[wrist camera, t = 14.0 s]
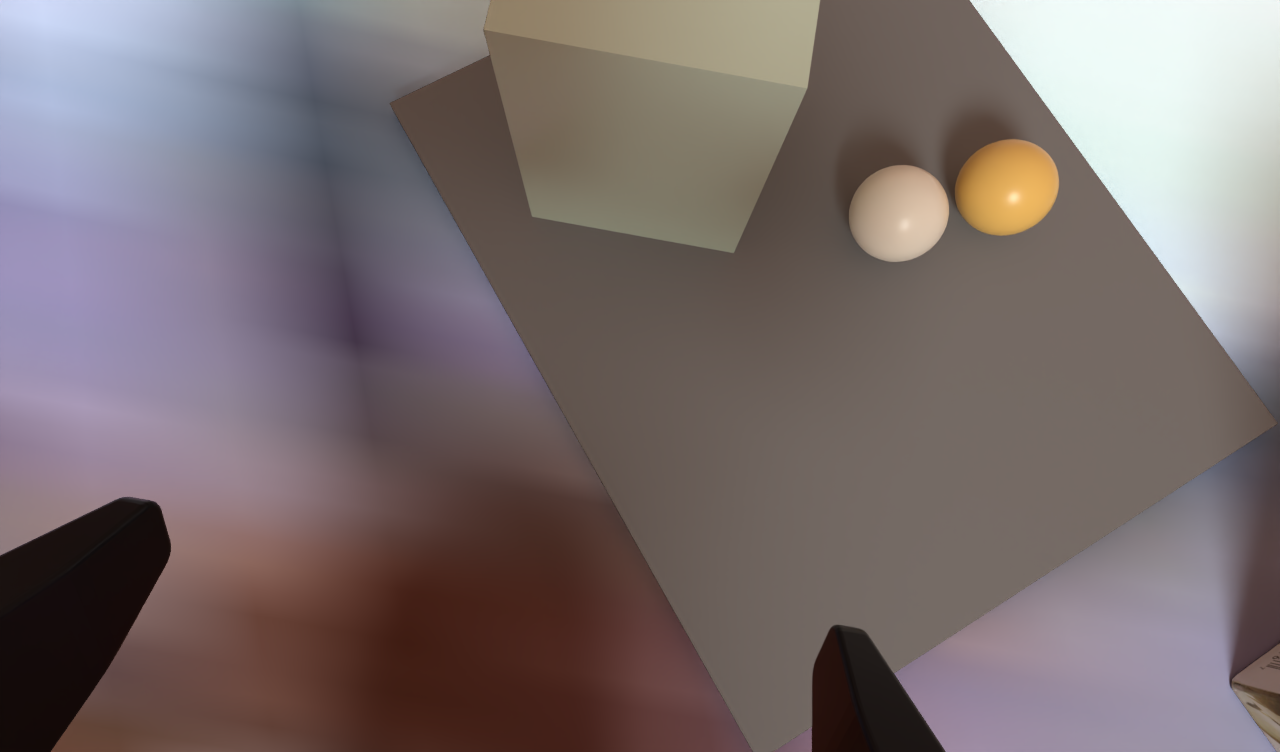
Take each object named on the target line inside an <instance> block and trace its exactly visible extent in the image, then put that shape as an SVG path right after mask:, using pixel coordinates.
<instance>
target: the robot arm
mask: <svg viewBox="0 0 1280 752" xmlns="http://www.w3.org/2000/svg"><path fill="white" fill-rule="evenodd" d="M170 552H171V542H170V539H169V535H168V532H167V528H166V525H165V521H164V518H163V514H162V511H161V508H160V506H159V505H158V504H157V503H156V502H154V501H150V500H144V499H139V498H133V497H123V498H119V499H117V500H114V501H112V502H110V503H108V504H106V505H104V506H102V507H100V508H98V509H96V510H94V511H91V512H89V513H87V514H85V515H83V516H81V517H79V518H77V519H75V520H73V521H71V522H69V523H67V524H65V525H63V526H60V527H58V528H56V529H54V530H52V531H50V532H48V533H46V534H44V535H42V536H40V537H38V538H36V539H34V540H32V541H29V542H27V543H25V544H23V545H21V546H19V547H17V548H15V549H13V550H11V551H9V552H7V553H5V554H3V555H1V556H0V752H51V750H52V749H53V748H54V746H55V745H56V743H57V742H58V740H59V739H60V737H61V736H62V735H63V733H64V732H65V730H66V729H67V727H68V726H69V724H70V723H71V722H72V720H73V719H74V717H75V716H76V714H77V713H78V711H79V710H80V709H81V707H82V706H83V704H84V703H85V701H86V700H87V698H88V697H89V696H90V694H91V693H92V691H93V690H94V688H95V687H96V685H97V684H98V682H99V681H100V679H101V678H102V676H103V675H104V673H105V672H106V670H107V669H108V667H109V666H110V664H111V662H112V661H113V659H114V657H115V656H116V654H117V652H118V650H119V649H120V647H121V645H122V643H123V641H124V640H125V638H126V636H127V634H128V632H129V631H130V629H131V627H132V625H133V623H134V622H135V620H136V618H137V616H138V614H139V613H140V611H141V609H142V607H143V605H144V604H145V602H146V600H147V598H148V596H149V595H150V593H151V591H152V589H153V587H154V586H155V584H156V582H157V580H158V578H159V576H160V575H161V573H162V571H163V569H164V567H165V566H166V564H167V562H168V559H169V556H170ZM812 752H945V750H944V748H943V747H942V745H941V744H940V742H939V741H938V739H937V738H936V736H935V735H934V733H933V732H932V730H931V729H930V727H929V726H928V724H927V723H926V721H925V720H924V718H923V717H922V715H921V714H920V712H919V711H918V709H917V708H916V706H915V705H914V703H913V702H912V700H911V699H910V697H909V696H908V694H907V693H906V691H905V690H904V688H903V687H902V685H901V684H900V682H899V681H898V679H897V678H896V676H895V674H894V673H893V671H892V670H891V668H890V667H889V665H888V664H887V662H886V661H885V659H884V658H883V656H882V655H881V653H880V652H879V650H878V649H877V647H876V646H875V644H874V643H873V641H872V640H871V638H870V637H869V635H868V634H867V633H866V632H865V631H864V630H862V629H860V628H856V627H850V626H844V625H839V624H837V625H833V626H832V627H831V628H830V630H829V631H828V634H827V636H826V638H825V640H824V642H823V645H822V647H821V649H820V651H819V653H818V655H817V658H816V660H815V663H814V667H813V674H812Z"/></svg>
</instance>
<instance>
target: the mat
mask: <svg viewBox="0 0 1280 752" xmlns="http://www.w3.org/2000/svg"><path fill="white" fill-rule="evenodd" d="M390 105H391V107H392V109H393V111H394V113H395V114H396V116H397V118H398V120H399V121H400V123H401V125H402V127H403V129H404V130H405V132H406V134H407V136H408V138H409V139H410V141H411V143H412V145H413V146H414V148H415V150H416V152H417V154H418V155H419V157H420V159H421V161H422V163H423V164H424V166H425V168H426V170H427V171H428V173H429V175H430V177H431V179H432V180H433V182H434V184H435V186H436V187H437V189H438V191H439V193H440V195H441V196H442V198H443V200H444V202H445V204H446V205H447V207H448V209H449V211H450V212H451V214H452V216H453V218H454V220H455V221H456V223H457V225H458V227H459V229H460V230H461V232H462V234H463V236H464V237H465V239H466V241H467V243H468V245H469V246H470V248H471V250H472V252H473V253H474V255H475V257H476V259H477V261H478V262H479V264H480V266H481V268H482V270H483V271H484V273H485V275H486V277H487V278H488V280H489V282H490V284H491V286H492V287H493V289H494V291H495V293H496V295H497V296H498V298H499V300H500V302H501V303H502V305H503V307H504V309H505V311H506V312H507V314H508V316H509V318H510V319H511V321H512V323H513V325H514V327H515V328H516V330H517V332H518V334H519V336H520V337H521V339H522V341H523V343H524V344H525V346H526V348H527V350H528V352H529V353H530V355H531V357H532V359H533V361H534V362H535V364H536V366H537V368H538V369H539V371H540V373H541V375H542V377H543V378H544V380H545V382H546V384H547V385H548V387H549V389H550V391H551V393H552V394H553V396H554V398H555V400H556V402H557V403H558V405H559V407H560V409H561V410H562V412H563V414H564V416H565V418H566V419H567V421H568V423H569V425H570V427H571V428H572V430H573V432H574V434H575V435H576V437H577V439H578V441H579V443H580V444H581V446H582V448H583V450H584V451H585V453H586V455H587V457H588V459H589V460H590V462H591V464H592V466H593V468H594V469H595V471H596V473H597V475H598V476H599V478H600V480H601V482H602V484H603V485H604V487H605V489H606V491H607V493H608V494H609V496H610V498H611V500H612V501H613V503H614V505H615V507H616V509H617V510H618V512H619V514H620V516H621V517H622V519H623V521H624V523H625V525H626V526H627V528H628V530H629V532H630V534H631V535H632V537H633V539H634V541H635V542H636V544H637V546H638V548H639V550H640V551H641V553H642V555H643V557H644V559H645V560H646V562H647V564H648V566H649V567H650V569H651V571H652V573H653V575H654V576H655V578H656V580H657V582H658V583H659V585H660V587H661V589H662V591H663V592H664V594H665V596H666V598H667V600H668V601H669V603H670V605H671V607H672V608H673V610H674V612H675V614H676V616H677V617H678V619H679V621H680V623H681V625H682V626H683V628H684V630H685V632H686V633H687V635H688V637H689V639H690V641H691V642H692V644H693V646H694V648H695V649H696V651H697V653H698V655H699V657H700V658H701V660H702V662H703V664H704V666H705V667H706V669H707V671H708V673H709V674H710V676H711V678H712V680H713V682H714V683H715V685H716V687H717V689H718V691H719V692H720V694H721V696H722V698H723V699H724V701H725V703H726V705H727V707H728V708H729V710H730V712H731V714H732V715H733V717H734V719H735V721H736V723H737V724H738V726H739V728H740V730H741V732H742V733H743V735H744V737H745V739H746V740H747V742H748V744H749V746H750V748H751V749H752V751H753V752H774V751H775V750H777V749H778V748H780V747H781V746H783V745H784V744H786V743H788V742H789V741H791V740H792V739H794V738H795V737H797V736H798V735H800V734H801V733H803V732H804V731H806V730H808V729H809V728H811V727H812V674H813V667H814V663H815V660H816V658H817V655H818V653H819V651H820V649H821V647H822V645H823V642H824V640H825V638H826V636H827V634H828V631H829V630H830V628H831V627H832V626H833V625H837V624H839V625H844V626H850V627H856V628H860V629H862V630H864V631H865V632H866V633H867V634H868V635H869V637H870V638H871V640H872V641H873V643H874V644H875V646H876V647H877V649H878V650H879V652H880V653H881V655H882V656H883V658H884V659H885V661H886V662H887V664H888V665H889V667H890V668H891V670H892V671H893V673H895V672H897V671H898V670H900V669H901V668H903V667H904V666H906V665H907V664H909V663H911V662H912V661H914V660H915V659H917V658H918V657H920V656H921V655H923V654H924V653H926V652H927V651H929V650H931V649H932V648H934V647H935V646H937V645H938V644H940V643H941V642H943V641H944V640H946V639H947V638H949V637H951V636H952V635H954V634H955V633H957V632H958V631H960V630H961V629H963V628H964V627H966V626H967V625H969V624H971V623H972V622H974V621H975V620H977V619H978V618H980V617H981V616H983V615H984V614H986V613H987V612H989V611H991V610H992V609H994V608H995V607H997V606H998V605H1000V604H1001V603H1003V602H1004V601H1006V600H1007V599H1009V598H1011V597H1012V596H1014V595H1015V594H1017V593H1018V592H1020V591H1021V590H1023V589H1024V588H1026V587H1027V586H1029V585H1031V584H1032V583H1034V582H1035V581H1037V580H1038V579H1040V578H1041V577H1043V576H1044V575H1046V574H1047V573H1049V572H1050V571H1052V570H1054V569H1055V568H1057V567H1058V566H1060V565H1061V564H1063V563H1064V562H1066V561H1067V560H1069V559H1070V558H1072V557H1074V556H1075V555H1077V554H1078V553H1080V552H1081V551H1083V550H1084V549H1086V548H1087V547H1089V546H1090V545H1092V544H1094V543H1095V542H1097V541H1098V540H1100V539H1101V538H1103V537H1104V536H1106V535H1107V534H1109V533H1110V532H1112V531H1114V530H1115V529H1117V528H1118V527H1120V526H1121V525H1123V524H1124V523H1126V522H1127V521H1129V520H1130V519H1132V518H1134V517H1135V516H1137V515H1138V514H1140V513H1141V512H1143V511H1144V510H1146V509H1147V508H1149V507H1150V506H1152V505H1154V504H1155V503H1157V502H1158V501H1160V500H1161V499H1163V498H1164V497H1166V496H1167V495H1169V494H1170V493H1172V492H1174V491H1175V490H1177V489H1178V488H1180V487H1181V486H1183V485H1184V484H1186V483H1187V482H1189V481H1190V480H1192V479H1194V478H1195V477H1197V476H1198V475H1200V474H1201V473H1203V472H1204V471H1206V470H1207V469H1209V468H1210V467H1212V466H1214V465H1215V464H1217V463H1218V462H1220V461H1221V460H1223V459H1224V458H1226V457H1227V456H1229V455H1230V454H1232V453H1233V452H1235V451H1237V450H1238V449H1240V448H1241V447H1243V446H1244V445H1246V444H1247V443H1249V442H1250V441H1252V440H1253V439H1255V438H1257V437H1258V436H1260V435H1261V434H1263V433H1264V432H1266V431H1267V430H1269V429H1270V428H1272V427H1273V426H1275V425H1277V424H1278V423H1277V422H1276V420H1275V419H1274V417H1273V416H1272V415H1271V413H1270V412H1269V411H1268V409H1267V408H1266V407H1265V405H1264V404H1263V402H1262V401H1261V400H1260V398H1259V397H1258V396H1257V394H1256V393H1255V391H1254V390H1253V389H1252V387H1251V386H1250V385H1249V383H1248V382H1247V380H1246V379H1245V378H1244V376H1243V375H1242V374H1241V372H1240V371H1239V369H1238V368H1237V367H1236V365H1235V364H1234V363H1233V361H1232V360H1231V359H1230V357H1229V356H1228V354H1227V353H1226V352H1225V350H1224V349H1223V348H1222V346H1221V345H1220V343H1219V342H1218V341H1217V339H1216V338H1215V337H1214V335H1213V334H1212V332H1211V331H1210V330H1209V328H1208V327H1207V326H1206V324H1205V323H1204V321H1203V320H1202V319H1201V317H1200V316H1199V315H1198V313H1197V312H1196V311H1195V309H1194V308H1193V306H1192V305H1191V304H1190V302H1189V301H1188V300H1187V298H1186V297H1185V295H1184V294H1183V293H1182V291H1181V290H1180V289H1179V287H1178V286H1177V284H1176V283H1175V282H1174V280H1173V279H1172V278H1171V276H1170V275H1169V273H1168V272H1167V271H1166V269H1165V268H1164V267H1163V265H1162V264H1161V262H1160V261H1159V260H1158V258H1157V257H1156V256H1155V254H1154V253H1153V252H1152V250H1151V249H1150V247H1149V246H1148V245H1147V243H1146V242H1145V241H1144V239H1143V238H1142V236H1141V235H1140V234H1139V232H1138V231H1137V230H1136V228H1135V227H1134V225H1133V224H1132V223H1131V221H1130V220H1129V219H1128V217H1127V216H1126V214H1125V213H1124V212H1123V210H1122V209H1121V208H1120V206H1119V205H1118V204H1117V202H1116V201H1115V199H1114V198H1113V197H1112V195H1111V194H1110V193H1109V191H1108V190H1107V188H1106V187H1105V186H1104V184H1103V183H1102V182H1101V180H1100V179H1099V177H1098V176H1097V175H1096V173H1095V172H1094V171H1093V169H1092V168H1091V166H1090V165H1089V164H1088V162H1087V161H1086V160H1085V158H1084V157H1083V156H1082V154H1081V153H1080V151H1079V150H1078V149H1077V147H1076V146H1075V145H1074V143H1073V142H1072V140H1071V139H1070V138H1069V136H1068V135H1067V134H1066V132H1065V131H1064V129H1063V128H1062V127H1061V125H1060V124H1059V123H1058V121H1057V120H1056V118H1055V117H1054V116H1053V114H1052V113H1051V112H1050V110H1049V109H1048V108H1047V106H1046V105H1045V103H1044V102H1043V101H1042V99H1041V98H1040V97H1039V95H1038V94H1037V92H1036V91H1035V90H1034V88H1033V87H1032V86H1031V84H1030V83H1029V81H1028V80H1027V79H1026V77H1025V76H1024V75H1023V73H1022V72H1021V70H1020V69H1019V68H1018V66H1017V65H1016V64H1015V62H1014V61H1013V59H1012V58H1011V57H1010V55H1009V54H1008V53H1007V51H1006V50H1005V49H1004V47H1003V46H1002V44H1001V43H1000V42H999V40H998V39H997V38H996V36H995V35H994V33H993V32H992V31H991V29H990V28H989V27H988V25H987V24H986V22H985V21H984V20H983V18H982V17H981V16H980V14H979V13H978V11H977V10H976V9H975V7H974V6H973V5H972V3H971V2H970V1H969V0H820V5H819V12H818V19H817V26H816V32H815V39H814V46H813V53H812V60H811V67H810V74H809V81H808V87H807V90H806V93H805V95H804V97H803V99H802V101H801V104H800V106H799V108H798V110H797V113H796V115H795V117H794V119H793V122H792V124H791V126H790V128H789V131H788V133H787V135H786V137H785V140H784V142H783V144H782V146H781V148H780V151H779V153H778V155H777V157H776V160H775V162H774V164H773V166H772V169H771V171H770V173H769V175H768V178H767V180H766V182H765V184H764V186H763V189H762V191H761V193H760V195H759V198H758V200H757V202H756V204H755V207H754V209H753V211H752V213H751V216H750V218H749V220H748V222H747V225H746V227H745V229H744V231H743V233H742V236H741V238H740V240H739V242H738V245H737V247H736V249H735V251H734V253H730V252H725V251H719V250H714V249H708V248H703V247H697V246H692V245H686V244H681V243H675V242H670V241H664V240H658V239H653V238H647V237H642V236H636V235H631V234H625V233H620V232H614V231H609V230H603V229H598V228H592V227H587V226H581V225H575V224H570V223H564V222H559V221H553V220H548V219H542V218H537V217H532V215H531V211H530V207H529V203H528V199H527V195H526V191H525V188H524V184H523V180H522V176H521V172H520V168H519V165H518V161H517V157H516V153H515V149H514V145H513V141H512V138H511V134H510V130H509V126H508V122H507V118H506V115H505V111H504V107H503V103H502V99H501V95H500V91H499V88H498V84H497V80H496V76H495V72H494V68H493V65H492V61H491V57H490V55H489V56H487V57H485V58H483V59H481V60H479V61H477V62H475V63H473V64H470V65H468V66H466V67H464V68H462V69H460V70H458V71H456V72H454V73H452V74H450V75H448V76H445V77H443V78H441V79H439V80H437V81H435V82H433V83H431V84H429V85H427V86H425V87H422V88H420V89H418V90H416V91H414V92H412V93H410V94H408V95H406V96H404V97H402V98H399V99H397V100H395V101H393V102H391V103H390ZM1007 139H1018V140H1024V141H1028V142H1031V143H1033V144H1036V145H1037V146H1039V147H1041V148H1042V149H1043V150H1045V151H1046V152H1047V153H1048V154H1049V156H1050V157H1051V158H1052V160H1053V161H1054V163H1055V165H1056V168H1057V171H1058V176H1059V189H1058V194H1057V197H1056V200H1055V202H1054V204H1053V206H1052V208H1051V210H1050V211H1049V212H1048V213H1047V215H1046V216H1045V217H1044V218H1043V219H1042V220H1041V221H1040V222H1038V223H1037V224H1036V225H1034V226H1033V227H1031V228H1029V229H1027V230H1025V231H1023V232H1020V233H1017V234H1013V235H1006V236H997V235H990V234H986V233H983V232H981V231H978V230H977V229H975V228H973V227H972V226H971V225H969V224H968V223H967V222H966V221H965V219H964V218H963V217H962V215H961V214H960V212H959V210H958V208H957V205H956V200H955V185H956V181H957V177H958V175H959V172H960V170H961V168H962V167H963V165H964V164H965V163H966V161H967V160H968V159H969V158H970V157H971V156H972V155H973V154H974V153H975V152H977V151H978V150H979V149H981V148H983V147H984V146H986V145H988V144H991V143H994V142H997V141H1000V140H1007ZM895 165H910V166H915V167H918V168H921V169H923V170H925V171H927V172H929V173H930V174H931V175H933V176H934V177H935V178H936V179H937V180H938V181H939V182H940V184H941V185H942V187H943V188H944V190H945V192H946V195H947V198H948V203H949V217H948V222H947V226H946V228H945V230H944V233H943V234H942V236H941V238H940V239H939V240H938V242H937V243H936V244H935V245H934V246H933V247H932V248H931V249H930V250H929V251H927V252H926V253H924V254H923V255H921V256H919V257H917V258H914V259H911V260H908V261H902V262H888V261H883V260H880V259H877V258H875V257H873V256H871V255H869V254H868V253H866V252H865V251H864V250H863V249H862V248H861V247H860V246H859V245H858V243H857V242H856V241H855V239H854V237H853V235H852V232H851V229H850V225H849V208H850V204H851V201H852V198H853V196H854V194H855V192H856V191H857V189H858V187H859V186H860V185H861V184H862V183H863V182H864V181H865V180H866V179H867V178H868V177H869V176H871V175H872V174H874V173H875V172H877V171H879V170H881V169H883V168H886V167H890V166H895Z"/></svg>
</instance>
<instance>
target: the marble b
mask: <svg viewBox="0 0 1280 752" xmlns="http://www.w3.org/2000/svg"><path fill="white" fill-rule="evenodd" d="M1058 189H1059V176H1058V171H1057V168H1056V165H1055V163H1054V161H1053V160H1052V158H1051V157H1050V156H1049V154H1048V153H1047V152H1046V151H1045V150H1043V149H1042V148H1041V147H1039V146H1037V145H1036V144H1033V143H1031V142H1028V141H1024V140H1018V139H1007V140H1000V141H997V142H994V143H991V144H988V145H986V146H984V147H983V148H981V149H979V150H978V151H977V152H975V153H974V154H973V155H972V156H971V157H970V158H969V159H968V160H967V161H966V163H965V164H964V165H963V167H962V168H961V170H960V172H959V175H958V177H957V181H956V185H955V200H956V205H957V208H958V210H959V212H960V214H961V215H962V217H963V218H964V219H965V221H966V222H967V223H968V224H969V225H971V226H972V227H973V228H975V229H977V230H978V231H981V232H983V233H986V234H990V235H997V236H1006V235H1013V234H1017V233H1020V232H1023V231H1025V230H1027V229H1029V228H1031V227H1033V226H1034V225H1036V224H1037V223H1038V222H1040V221H1041V220H1042V219H1043V218H1044V217H1045V216H1046V215H1047V213H1048V212H1049V211H1050V210H1051V208H1052V206H1053V204H1054V202H1055V200H1056V197H1057V194H1058Z"/></svg>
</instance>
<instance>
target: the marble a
mask: <svg viewBox="0 0 1280 752" xmlns="http://www.w3.org/2000/svg"><path fill="white" fill-rule="evenodd" d="M948 217H949V203H948V198H947V195H946V192H945V190H944V188H943V187H942V185H941V184H940V182H939V181H938V180H937V179H936V178H935V177H934V176H933V175H931V174H930V173H929V172H927V171H925V170H923V169H921V168H918V167H915V166H910V165H895V166H890V167H886V168H883V169H881V170H879V171H877V172H875V173H874V174H872V175H871V176H869V177H868V178H867V179H866V180H865V181H864V182H863V183H862V184H861V185H860V186H859V187H858V189H857V191H856V192H855V194H854V196H853V198H852V201H851V204H850V208H849V225H850V229H851V232H852V235H853V237H854V239H855V241H856V242H857V243H858V245H859V246H860V247H861V248H862V249H863V250H864V251H865V252H866V253H868V254H869V255H871V256H873V257H875V258H877V259H880V260H883V261H888V262H902V261H908V260H911V259H914V258H917V257H919V256H921V255H923V254H924V253H926V252H927V251H929V250H930V249H931V248H932V247H933V246H934V245H935V244H936V243H937V242H938V240H939V239H940V238H941V236H942V234H943V233H944V230H945V228H946V226H947V222H948Z"/></svg>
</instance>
